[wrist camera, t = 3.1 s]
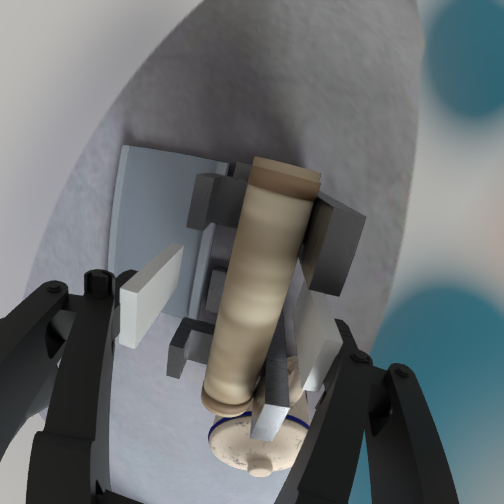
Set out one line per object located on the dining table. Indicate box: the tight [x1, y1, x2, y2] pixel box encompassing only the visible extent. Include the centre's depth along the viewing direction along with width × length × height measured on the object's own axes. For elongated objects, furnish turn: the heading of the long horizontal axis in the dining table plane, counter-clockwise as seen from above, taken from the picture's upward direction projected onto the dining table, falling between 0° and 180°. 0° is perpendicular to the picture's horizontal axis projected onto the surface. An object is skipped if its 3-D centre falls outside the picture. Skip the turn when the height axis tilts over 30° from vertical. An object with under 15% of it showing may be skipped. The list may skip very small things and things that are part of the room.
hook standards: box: [166, 161, 366, 442], centre depth 18 cm, size 6×13×14 cm, turn 167°
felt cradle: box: [108, 145, 230, 320], centre depth 24 cm, size 9×14×2 cm, turn 167°
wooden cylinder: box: [201, 156, 321, 417], centre depth 14 cm, size 14×3×3 cm, turn 167°
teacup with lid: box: [208, 356, 310, 477], centre depth 23 cm, size 12×9×12 cm
